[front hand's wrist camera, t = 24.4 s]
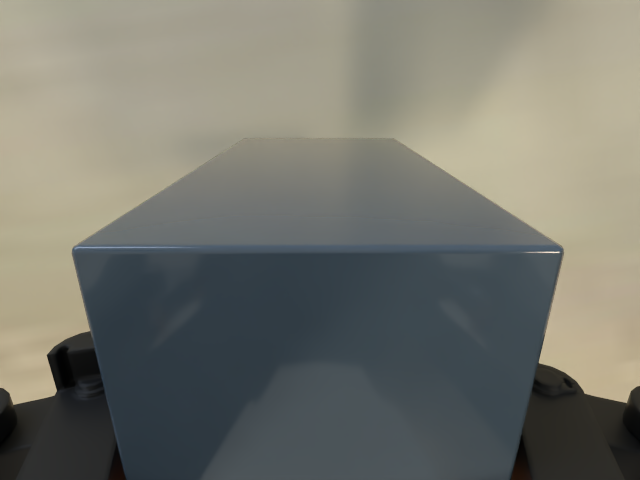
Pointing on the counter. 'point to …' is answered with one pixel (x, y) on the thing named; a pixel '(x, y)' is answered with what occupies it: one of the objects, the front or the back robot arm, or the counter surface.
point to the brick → (318, 319)
